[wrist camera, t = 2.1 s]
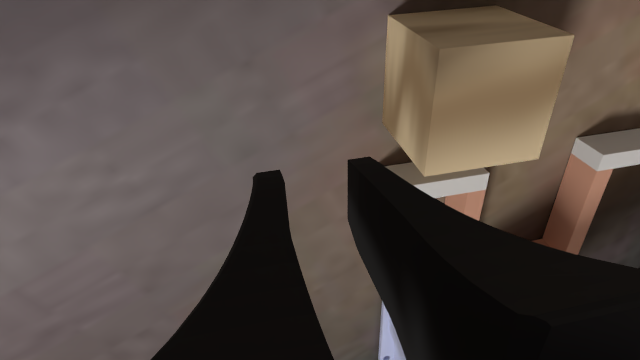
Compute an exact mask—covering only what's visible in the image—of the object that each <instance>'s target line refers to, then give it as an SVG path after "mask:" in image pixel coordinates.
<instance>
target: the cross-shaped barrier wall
mask: <svg viewBox="0 0 640 360" xmlns="http://www.w3.org/2000/svg"><path fill="white" fill-rule="evenodd" d="M638 164H640V128H638V129H631V130H625V131H618V132H611V133H604V134H598V135H591V136H584V137H578V138H576V140H575V143H574V146H573V149H572V152H571V155H570V158H569V161H568V164H567V167H566V170H565V173H564V176H563V179H562V182H561V185H560V188H559V191H558V194H557V197H556V199H555V202H554V205H553V208H552V211H551V214H550V217H549V220H548V223H547V226H546V229H545V232H544V235H543V238H542V239H538V240H533V241H532V242H535V243H538V244H542V245H545V246H548V247H551V248H555V249H558V250H562V251H565V252H569V253H573V254H576V255H578V253H579V251H580V248H581V246H582V244H583V241H584V239H585V236H586V234H587V231H588V229H589V227H590V224H591V222H592V219H593V217H594V214H595V212H596V210H597V207H598V205H599V202H600V200H601V197H602V195H603V193H604V190H605V188H606V185H607V183H608V180H609V178H610V175H611V173H612V171H613V169H614V168H620V167H626V166H632V165H638ZM385 167H386V168H388V169H389V170H391V171H392V172H394V173H395V174H397V175H398V176H400V177H401V178H403V179H404V180H406V181H407V182H409V183H410V184H412V185H413V186H415V187H417V188H418V189H420V190H421V191H423V192H425V193H426V194H428V195H430V196H431V197H433V198H439V197H445V196H446V198H445V204H446V205H448V206H449V207H451V208H453V209H455V210H457V211H459V212H461V213H463V214H465V215H467V216H469V217H472V218H474V219H476V220H478V221H479V219H480V214H481V210H482V205H483V201H484V196H485V192H486V187H487V183H488V178H489V174H490V173H489V172H488V171H487V170H486V169H485V168H477V169H471V170H464V171H458V172H451V173H445V174H439V175H432V176H426V177H424V176H423V175H422V173H421V172H420V171H419V169H418V168H417V167H416V165H415V164H414V163H413V162H410V163H404V164H397V165H390V166H385Z"/></svg>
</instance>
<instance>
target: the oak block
mask: <svg viewBox="0 0 640 360" xmlns="http://www.w3.org/2000/svg"><path fill="white" fill-rule="evenodd" d="M574 36H575V35H574V34H571V33H568V32H566V31H563V30H560V29H558V28H555V27H552V26H550V25H547V24H544V23H542V22H539V21H536V20H534V19H531V18H528V17H526V16H523V15H521V14H518V13H515V12H513V11H510V10H507V9H505V8H502V7H499V6H497V5H495V6H484V7H473V8H462V9H451V10H440V11H429V12H418V13H407V14H395V15H388V26H387V45H386V64H385V83H384V103H383V122H382V123H383V124H384V125H385V127H386V128H387V129H388V131H389V132H390V133H391V134H392V136H393V137H394V138H395V140H396V141H397V142H398V144H399V145H400V146H401V147H402V149H403V150H404V151H405V153H406V154H407V155H408V156H409V158H410V159H411V160H412V162H413V163H414V164H415V165H416V167H417V168H418V169H419V171H420V172H421V173H422V175H423V176H424V177H426V176H432V175H439V174H445V173H451V172H458V171H464V170H471V169H477V168H484V167H490V166H497V165H503V164H509V163H516V162H522V161H529V160H535V159H539V155H540V152H541V148H542V145H543V142H544V138H545V135H546V131H547V128H548V125H549V121H550V118H551V114H552V111H553V108H554V104H555V101H556V97H557V94H558V90H559V87H560V84H561V80H562V77H563V73H564V70H565V67H566V63H567V60H568V56H569V53H570V50H571V46H572V43H573V39H574Z"/></svg>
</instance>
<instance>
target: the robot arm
mask: <svg viewBox="0 0 640 360" xmlns="http://www.w3.org/2000/svg"><path fill="white" fill-rule="evenodd" d="M348 222H349V225H350V228H351V231H352V234H353V237H354V240H355V243H356V246H357V249H358V251H359V254H360V256H361V258H362V260H363V262H364V264H365V266H366V268H367V270H368V273H369V275H370V277H371V279H372V281H373V283H374V285H375V287H376V289H377V291H378V293H379V295H380V297H381V299H382V311H381V326H380V340H379V355H378V360H640V269H638V268H633V267H629V266H624V265H620V264H615V263H611V262H606V261H601V260H597V259H592V258H588V257H584V256H580V255H576V254H573V253H569V252H565V251H562V250H558V249H555V248H551V247H548V246H545V245H542V244H538V243H535V242H532V241H529V240H526V239H524V238H521V237H518V236H515V235H513V234H510V233H507V232H504V231H502V230H499V229H497V228H494V227H492V226H489V225H487V224H485V223H483V222H480V221H478V220H476V219H474V218H472V217H469V216H467V215H465V214H463V213H461V212H459V211H457V210H455V209H453V208H451V207H449V206H448V205H446V204H444V203H442V202H440V201H439V200H437V199H435V198H433V197H431V196H430V195H428V194H426V193H425V192H423V191H421V190H420V189H418V188H417V187H415V186H413V185H412V184H410V183H409V182H407V181H406V180H404V179H403V178H401V177H400V176H398V175H397V174H395V173H394V172H392V171H391V170H389V169H388V168H386V167H385V166H383V165H382V164H380V163H379V162H377V161H376V160H374V159H372V158H371V157H364V158H357V159H350V160H348ZM151 360H334V359H333V356H332V354H331V351H330V349H329V347H328V344H327V342H326V339H325V337H324V334H323V331H322V329H321V326H320V324H319V321H318V319H317V316H316V313H315V310H314V308H313V305H312V302H311V299H310V296H309V293H308V290H307V287H306V284H305V281H304V278H303V275H302V272H301V269H300V266H299V262H298V259H297V256H296V252H295V249H294V245H293V242H292V239H291V233H290V228H289V219H288V209H287V200H286V191H285V182H284V179H283V176H282V174H281V172H280V170H274V171H267V172H260V173H256V174H255V176H254V177H253V187H252V193H251V197H250V201H249V205H248V208H247V211H246V214H245V217H244V220H243V223H242V225H241V228H240V230H239V233H238V235H237V237H236V240H235V242H234V244H233V246H232V248H231V250H230V252H229V255H228V256H227V258H226V260H225V262H224V264H223V266H222V267H221V269H220V271H219V273H218V274H217V276H216V277H215V279H214V281H213V282H212V284H211V285H210V287H209V288H208V290H207V292H206V293H205V295H204V296H203V297H202V299H201V300H200V302H199V303H198V304H197V306H196V307H195V308H194V310H193V311H192V312H191V313H190V315H189V316H188V317H187V318H186V320H185V321H184V322H183V323H182V325H181V326H180V327H179V329H178V330H177V331H176V332H175V334H174V335H173V336H172V337H171V338H170V339H169V341H168V342H167V343H166V344H165V345H164V346H163V347H162V348H161V349H160V350H159V351H158V352H157V353H156V354H155V356H154V357H153V358H152V359H151Z"/></svg>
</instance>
